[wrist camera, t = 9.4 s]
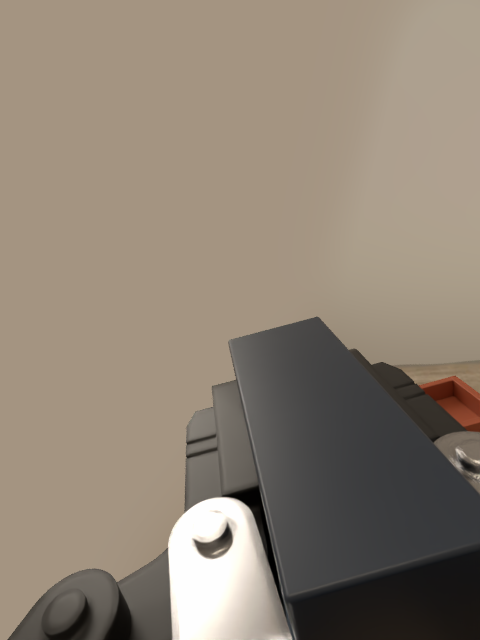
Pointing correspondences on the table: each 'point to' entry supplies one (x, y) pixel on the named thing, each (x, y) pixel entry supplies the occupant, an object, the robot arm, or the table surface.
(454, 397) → the tray
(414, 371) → the table surface
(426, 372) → the table surface
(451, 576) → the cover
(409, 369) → the table surface
